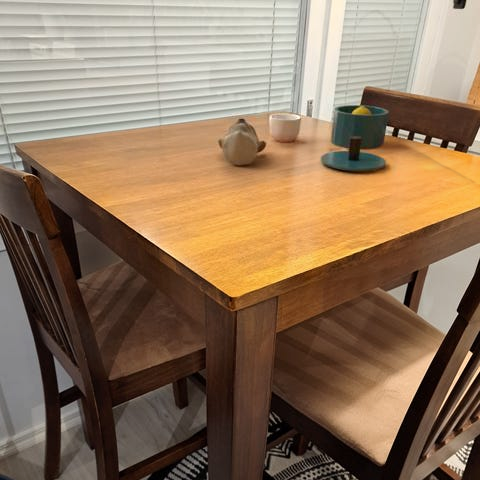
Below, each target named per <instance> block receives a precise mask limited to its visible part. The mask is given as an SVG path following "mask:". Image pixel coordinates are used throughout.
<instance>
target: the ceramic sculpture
mask: <svg viewBox="0 0 480 480" xmlns="http://www.w3.org/2000/svg"><path fill="white" fill-rule="evenodd" d="M217 143H218V145H219V147H220V149H221V151H222V154H223V156H224V158H225V161H226V162H228V163H229V164H231V165H234V166H238V167H239V166H240V167H241V166H246V165H250V164H251V163H253V162H254V160H255V158H256V156H257V154H259V153H261V152H263V151H264V150H265V149H266V146H267V142H266V141H265V140H260V139H259V136H258V134H257V132H256V129H255V128H254V127H253V125H251V124H250V123H248V121H247V120H246V119H245V118H241V117H240V118H239V119H237V121H236V122H234V123H233V124H232V125H230V127H229V128H228V130H227V132H226V134H225V135H224V138H220V139H219V140H218V142H217Z"/></svg>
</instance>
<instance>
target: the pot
mask: <svg viewBox="0 0 480 480" xmlns="http://www.w3.org/2000/svg"><path fill="white" fill-rule="evenodd" d="M361 106H365V108H367V109H368V110H369V111H370V112H371V114H372V115H360V114H352V112H353V111H354V110H355V109H357V108H359V107H361ZM389 113H390V112H389V110H388V109H386V108H384V107H378V106H372V105H360V104H349V105H348V104H347V105H346V104H345V105H339V106H337V107H334V109H333V118H332V127H331V136H330V143H331V144H333V145H335V146H336V147H340V148H346V149H349V144H350V137H351V136H359V137H362V142H361V149H360V150H374V149H379V148H381V147H384V143H385V138H386V131H387V125H388V120H389Z"/></svg>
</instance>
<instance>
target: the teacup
mask: <svg viewBox="0 0 480 480" xmlns="http://www.w3.org/2000/svg"><path fill="white" fill-rule="evenodd" d="M268 119H269V133H270V136H271V138H273V139H274V140H275V141H277V142H282V143H289V142H292V141H294V140H295V139H297V137H298V136H299V134H300V129H301V123H302V117H301V116H300V115H298V114H294V113H274V114H271V115H270V116H269V118H268Z"/></svg>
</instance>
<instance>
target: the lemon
mask: <svg viewBox="0 0 480 480" xmlns="http://www.w3.org/2000/svg"><path fill="white" fill-rule="evenodd" d="M365 106H366V105H363V106H361V107H359V108H357V109H355V110H354V111H353V112H352V114H360V115H372V114H371V112H370V111H369V110H368V109H367V108H365Z"/></svg>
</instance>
